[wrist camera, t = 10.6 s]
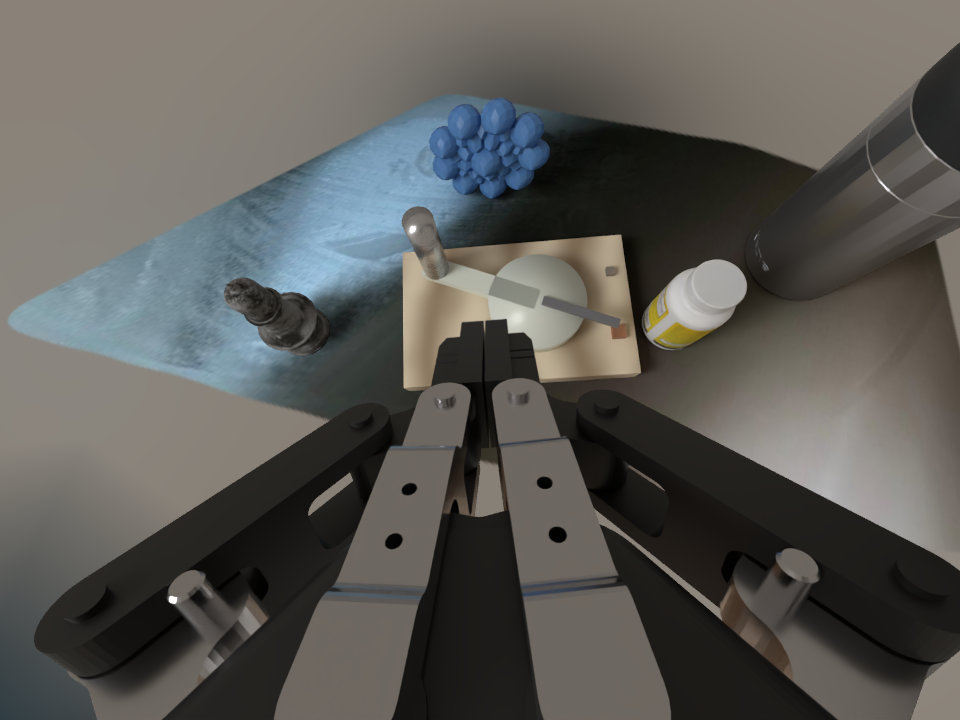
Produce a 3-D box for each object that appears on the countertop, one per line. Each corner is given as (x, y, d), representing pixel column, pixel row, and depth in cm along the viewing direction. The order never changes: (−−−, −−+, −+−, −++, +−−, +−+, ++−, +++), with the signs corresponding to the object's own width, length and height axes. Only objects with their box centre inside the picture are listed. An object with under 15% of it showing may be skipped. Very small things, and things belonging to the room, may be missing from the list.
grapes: (547, 163, 44) (561, 60, 33) (541, 217, 43) (553, 130, 31) (444, 156, 46) (422, 54, 34) (435, 209, 44) (409, 122, 32)
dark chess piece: (301, 295, 43) (224, 236, 31) (343, 323, 42) (279, 273, 30) (267, 339, 42) (174, 296, 30) (309, 369, 41) (229, 336, 29)
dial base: (615, 244, 42) (622, 231, 39) (634, 376, 38) (643, 371, 36) (407, 261, 43) (401, 249, 40) (409, 390, 40) (402, 386, 37)
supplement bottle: (708, 333, 39) (773, 295, 29) (662, 361, 39) (712, 331, 29) (674, 289, 40) (726, 238, 31) (629, 315, 40) (666, 273, 30)
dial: (626, 288, 38) (665, 232, 28) (598, 375, 36) (631, 348, 27) (445, 234, 41) (424, 167, 31) (412, 314, 39) (380, 268, 29)
